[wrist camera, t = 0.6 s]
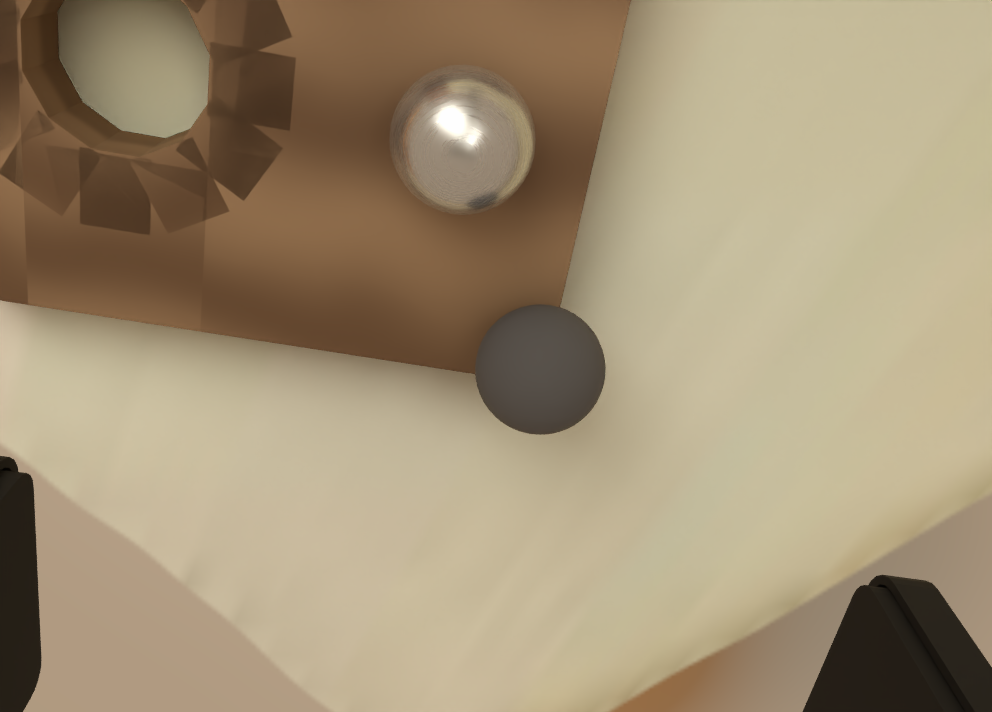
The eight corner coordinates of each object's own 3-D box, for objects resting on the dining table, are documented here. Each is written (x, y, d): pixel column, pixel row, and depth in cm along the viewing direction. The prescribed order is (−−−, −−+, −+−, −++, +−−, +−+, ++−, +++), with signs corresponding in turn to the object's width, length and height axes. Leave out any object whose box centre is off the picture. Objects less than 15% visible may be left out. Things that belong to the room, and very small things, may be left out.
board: (-42, -294, 24) (-96, -315, 22) (649, -147, 26) (665, -152, 24) (-10, 265, 31) (-47, 292, 29) (537, 352, 33) (541, 384, 31)
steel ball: (405, 42, 26) (394, 63, 22) (544, 68, 26) (554, 93, 23) (387, 180, 28) (373, 220, 24) (517, 202, 28) (523, 245, 24)
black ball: (486, 275, 29) (488, 327, 25) (609, 296, 29) (628, 349, 26) (465, 385, 31) (464, 449, 27) (582, 404, 31) (596, 468, 27)
